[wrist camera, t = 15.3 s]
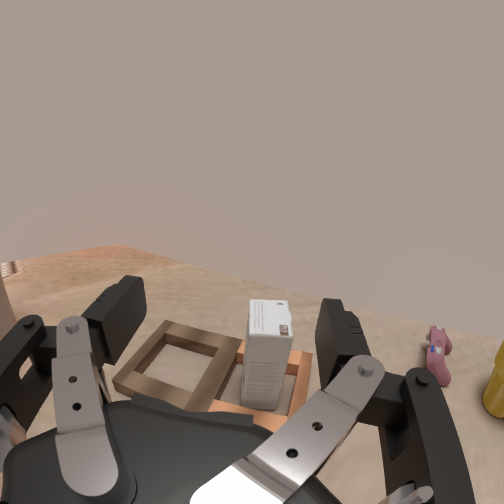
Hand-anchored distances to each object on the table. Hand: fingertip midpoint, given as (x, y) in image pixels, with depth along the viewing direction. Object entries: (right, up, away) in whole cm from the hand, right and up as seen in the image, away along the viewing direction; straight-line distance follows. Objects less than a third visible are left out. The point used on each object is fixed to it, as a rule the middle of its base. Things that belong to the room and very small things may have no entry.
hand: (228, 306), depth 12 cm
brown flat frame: (-3, -14, +21) cm, 25 cm away
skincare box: (+2, -15, +20) cm, 25 cm away
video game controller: (+29, -16, +23) cm, 40 cm away
